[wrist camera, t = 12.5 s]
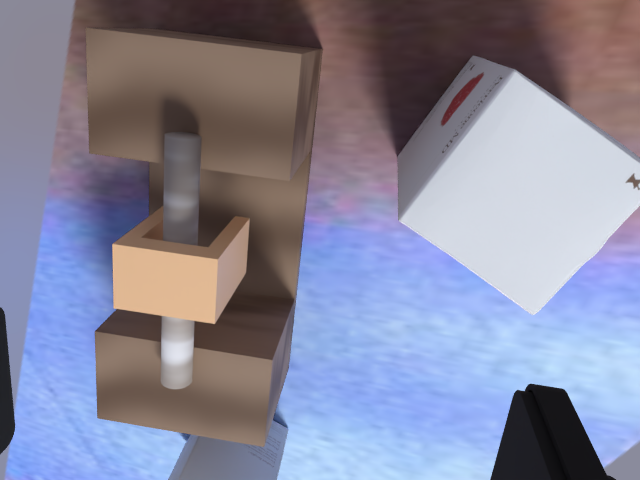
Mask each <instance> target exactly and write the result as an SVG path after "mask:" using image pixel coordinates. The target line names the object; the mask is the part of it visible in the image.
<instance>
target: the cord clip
mask: <svg viewBox="0 0 640 480" xmlns="http://www.w3.org/2000/svg"><path fill="white" fill-rule="evenodd" d="M249 222H250V218H245V217H238V216H235V217H234V218H233V219H232V220H231V221H230V223H229V224H228V225H227V226H226V227H225V228H224V230H223V231H222V232H221V233H220V234H219V235H218V237H217V238H216V239H215V240H214V241H213V242H212V244H211V245H210V246H209V247H203V246H196V245H189V244H182V243H175V242H168V241H163V206H162V207H161V208H159V209H158V210H157V211H155V212H154V213H153V214H151V215H150V216H149V217H147V218H146V219H145V220H143V221H142V222H141V223H140V224H138V225H137V226H136V227H134V228H133V229H132V230H130V231H129V232H128V233H126V234H125V235H124V236H122V237H121V238H120V239H118V240H117V241H116V242H114V243H113V244H112V252H113V299H114V308H115V309H122V310H128V311H134V312H141V313H147V314H154V315H160V316H167V317H173V318H179V319H186V320H192V321H199V322H205V323H212V324H215V323H216V321H217V320H218V318H219V316H220V315H221V313H222V311H223V310H224V308H225V306H226V305H227V303H228V302H229V300H230V298H231V297H232V295H233V293H234V292H235V290H236V288H237V287H238V285H239V283H240V282H241V280H242V279H243V277H244V275H245V274H246V266H247V251H248V237H249Z"/></svg>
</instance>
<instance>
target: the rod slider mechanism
mask: <svg viewBox="0 0 640 480" xmlns="http://www.w3.org/2000/svg"><path fill="white" fill-rule="evenodd" d="M322 51H323V49H319V48H311V47H302V46H294V45H286V44H278V43H269V42H261V41H253V40H245V39H236V38H228V37H220V36H212V35H204V34H195V33H187V32H179V31H171V30H162V29H144V28H86V58H87V90H88V123H89V153H91V154H98V155H105V156H112V157H119V158H127V159H134V160H141V161H148V162H149V216H150V215H151V214H153V213H154V212H155V211H157V210H158V209H159V208H161V207H162V206H163V241H168V242H175V243H182V244H189V245H196V246H203V247H209V246H210V245H211V244H212V242H213V241H214V240H215V239H216V238H217V237H218V235H219V234H220V233H221V232H222V231H223V230H224V228H225V227H226V226H227V225H228V224H229V223H230V221H231V220H232V219H233V218H234V217H235V216H238V217H245V218H250V222H249V237H248V251H247V266H246V274H245V275H244V277H243V279H242V280H241V282H240V283H239V285H238V287H237V288H236V290H235V292H234V293H233V295H232V297H231V298H230V300H229V302H228V303H227V305H226V306H225V308H224V310H223V311H222V313H221V315H220V316H219V318H218V320H217V321H216V323H215V324H212V323H205V322H199V321H192V320H186V319H179V318H173V317H167V316H160V315H154V314H147V313H141V312H134V311H128V310H122V309H117V310H116V311H115V312H114V313H113V314H112V315H111V316H110V317H109V318H108V319H107V320H106V321H105V322H104V323H103V324H102V325H101V326H100V327H99V328H98V329H97V330H96V331H95V353H96V386H97V418H99V419H105V420H111V421H116V422H122V423H128V424H134V425H140V426H145V427H151V428H157V429H163V430H168V431H174V432H180V433H186V434H191V435H197V436H203V437H209V438H215V439H220V440H226V441H232V442H238V443H243V444H249V445H255V446H261V447H264V446H265V443H266V440H267V437H268V433H269V430H270V427H271V424H272V420H273V417H274V414H275V411H276V407H277V404H278V401H279V398H280V394H281V391H282V388H283V385H284V382H285V378H286V375H287V372H288V369H289V360H290V351H291V341H292V332H293V323H294V313H295V304H296V295H297V285H298V276H299V266H300V257H301V248H302V238H303V229H304V220H305V210H306V201H307V192H308V182H309V173H310V163H311V154H312V145H313V135H314V126H315V117H316V107H317V98H318V89H319V79H320V70H321V60H322Z"/></svg>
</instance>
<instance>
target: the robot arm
mask: <svg viewBox="0 0 640 480" xmlns="http://www.w3.org/2000/svg"><path fill="white" fill-rule="evenodd" d="M7 344H8V343H7V333H6V322H5V314H4V311H3V309H2V308H0V454H1V453H2V452H3V451H4V450H5V449H6V448H7V446H8V445H9V444H10V442H11V440H12V437H13V435H14V431H15V420H14V409H13V400H12V399H13V398H12V388H11V376H10V365H9V354H8V345H7ZM491 480H616V479H614V478H613V477H611V476H607V475H606V473H605V471H604V468H603V466H602V464H601V462H600V460H599V458H598V456H597V454H596V452H595V450H594V448H593V446H592V444H591V442H590V440H589V438H588V435H587V433H586V431H585V429H584V427H583V425H582V423H581V421H580V419H579V417H578V415H577V413H576V411H575V409H574V407H573V405H572V402H571V400H570V398H569V396H568V394H567V392H566V391H565V390H564V389H561V388H554V387H548V386H542V385H536V384H529V385H528V386H527V387H526V389H525V391H520V390H517V391H516V392H515V393H514V396H513V399H512V403H511V406H510V410H509V414H508V417H507V421H506V425H505V428H504V432H503V436H502V439H501V443H500V447H499V450H498V454H497V458H496V461H495V465H494V469H493V472H492V476H491Z"/></svg>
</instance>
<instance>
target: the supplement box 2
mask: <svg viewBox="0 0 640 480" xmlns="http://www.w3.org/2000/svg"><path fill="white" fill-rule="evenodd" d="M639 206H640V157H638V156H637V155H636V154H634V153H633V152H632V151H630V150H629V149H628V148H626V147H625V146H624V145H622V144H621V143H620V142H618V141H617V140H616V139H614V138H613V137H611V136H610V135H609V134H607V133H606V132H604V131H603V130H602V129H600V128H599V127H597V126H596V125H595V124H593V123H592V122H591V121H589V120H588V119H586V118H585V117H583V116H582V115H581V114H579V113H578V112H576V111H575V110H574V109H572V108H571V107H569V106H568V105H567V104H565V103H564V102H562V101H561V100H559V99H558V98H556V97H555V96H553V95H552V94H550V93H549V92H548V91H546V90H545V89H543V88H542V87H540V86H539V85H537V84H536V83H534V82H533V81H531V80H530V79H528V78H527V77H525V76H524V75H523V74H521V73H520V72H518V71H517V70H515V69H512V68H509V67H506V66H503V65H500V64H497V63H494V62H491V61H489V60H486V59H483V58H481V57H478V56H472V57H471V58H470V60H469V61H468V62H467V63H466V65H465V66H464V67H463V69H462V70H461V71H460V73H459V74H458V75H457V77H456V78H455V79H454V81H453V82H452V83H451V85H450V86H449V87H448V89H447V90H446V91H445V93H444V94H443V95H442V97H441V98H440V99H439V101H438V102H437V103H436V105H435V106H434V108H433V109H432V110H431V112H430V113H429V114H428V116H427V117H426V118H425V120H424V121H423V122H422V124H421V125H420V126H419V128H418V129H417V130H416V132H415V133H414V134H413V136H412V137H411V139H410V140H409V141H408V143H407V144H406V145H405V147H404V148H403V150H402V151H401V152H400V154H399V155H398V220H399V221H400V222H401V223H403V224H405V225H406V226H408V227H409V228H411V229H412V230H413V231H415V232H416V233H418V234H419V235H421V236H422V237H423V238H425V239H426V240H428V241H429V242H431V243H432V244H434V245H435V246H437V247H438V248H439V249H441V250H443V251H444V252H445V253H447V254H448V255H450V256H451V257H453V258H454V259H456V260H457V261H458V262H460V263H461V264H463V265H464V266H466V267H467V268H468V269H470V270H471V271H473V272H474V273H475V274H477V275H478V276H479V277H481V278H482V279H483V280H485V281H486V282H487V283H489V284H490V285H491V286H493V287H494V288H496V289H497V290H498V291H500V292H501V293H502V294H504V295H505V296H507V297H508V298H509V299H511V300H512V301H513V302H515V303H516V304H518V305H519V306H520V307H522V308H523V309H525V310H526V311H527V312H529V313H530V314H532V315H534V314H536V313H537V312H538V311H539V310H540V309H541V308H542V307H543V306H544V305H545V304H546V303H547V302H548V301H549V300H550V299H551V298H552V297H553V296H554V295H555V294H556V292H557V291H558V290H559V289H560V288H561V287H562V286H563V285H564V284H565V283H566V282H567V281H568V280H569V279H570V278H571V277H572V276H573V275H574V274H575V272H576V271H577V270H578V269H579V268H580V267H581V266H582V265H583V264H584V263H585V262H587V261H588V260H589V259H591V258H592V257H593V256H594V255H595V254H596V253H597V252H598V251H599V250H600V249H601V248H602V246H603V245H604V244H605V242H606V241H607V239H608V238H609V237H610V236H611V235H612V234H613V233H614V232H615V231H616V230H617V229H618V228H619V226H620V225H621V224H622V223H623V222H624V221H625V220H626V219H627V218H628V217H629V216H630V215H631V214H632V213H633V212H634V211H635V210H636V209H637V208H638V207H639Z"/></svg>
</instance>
